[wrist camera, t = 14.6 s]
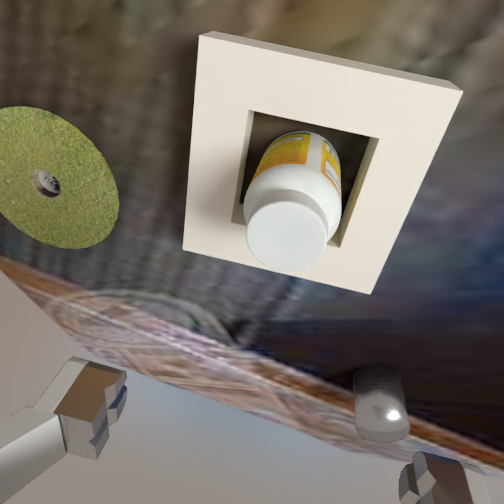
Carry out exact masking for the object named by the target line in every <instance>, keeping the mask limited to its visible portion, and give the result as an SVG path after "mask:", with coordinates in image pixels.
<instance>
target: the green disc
mask: <svg viewBox="0 0 504 504" xmlns="http://www.w3.org/2000/svg"><path fill="white" fill-rule="evenodd" d="M118 211H119V198H118V190H117V187H116V184H115V180H114V177H113V175H112V173H111V170H110V168H109V166H108V165H107V164H106V162H105V159H104V158H103V156H102V154H101V152H99V151H98V149H97V148H96V147H95V146H94V145H93V143H92V142H91V141H90V140H89V139H88V138H87V137H85V135H84V134H83V133H82V132H80V131H79V130H78V129H77V128H76V127H74V126H73V125H71V124H70V123H69V122H67V121H65V120H64V119H62V118H61V117H59V116H57V115H54V114H52V113H50V112H48V111H44V110H42V109H38V108H32V107H26V106H23V107H19V106H17V107H9V108H3V109H0V212H1V213H2V214H3V215H4V217H5V218H8V220H9V221H10V222H11V223H12V224H14V225H15V226H16V227H17V228H18V229H20V230H21V231H23V232H24V233H25V234H27V235H29V236H30V237H32V238H35V239H36V240H38V241H41V242H44V243H46V244H50V245H53V246H56V247H60V248H66V249H68V248H71V249H79V248H87V247H89V246H92V245H95V244H97V243H99V242H101V241H102V240H103V239H105V238H106V236H108V234H109V233H110V232H111V231H112V229H113V227H114V224H115V222H116V220H117V216H118Z"/></svg>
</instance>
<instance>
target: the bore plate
mask: <svg viewBox="0 0 504 504" xmlns="http://www.w3.org/2000/svg"><path fill="white" fill-rule="evenodd" d="M462 94H463V91H462V90H461V89H459V88H458V87H456V86H455V85H454V84H452V83H451V82H450V81H447V80H442V79H437V78H433V77H428V76H423V75H419V74H414V73H409V72H405V71H400V70H395V69H390V68H386V67H381V66H376V65H372V64H367V63H362V62H357V61H353V60H348V59H343V58H339V57H334V56H329V55H325V54H320V53H315V52H310V51H306V50H301V49H296V48H292V47H287V46H282V45H278V44H273V43H268V42H263V41H259V40H254V39H249V38H245V37H240V36H235V35H230V34H226V33H221V32H216V31H211V32H208V33H205V34H202V35H199V46H198V59H197V71H196V84H195V97H194V110H193V123H192V136H191V149H190V161H189V174H188V187H187V200H186V213H185V226H184V238H183V250H187V251H191V252H195V253H199V254H203V255H208V256H212V257H216V258H220V259H224V260H228V261H233V262H237V263H241V264H245V265H249V266H253V267H258V268H262V269H266V270H270V271H274V272H279V273H283V274H287V275H291V276H295V277H299V278H304V279H308V280H312V281H316V282H320V283H324V284H329V285H333V286H337V287H341V288H345V289H350V290H354V291H358V292H362V293H366V294H371V292H372V290H373V288H374V285H375V283H376V281H377V279H378V277H379V274H380V272H381V270H382V268H383V266H384V264H385V261H386V259H387V257H388V255H389V253H390V250H391V248H392V246H393V244H394V242H395V240H396V237H397V235H398V233H399V231H400V229H401V227H402V224H403V222H404V220H405V218H406V216H407V213H408V211H409V209H410V207H411V205H412V203H413V200H414V198H415V196H416V194H417V192H418V189H419V187H420V185H421V183H422V181H423V179H424V176H425V174H426V172H427V170H428V168H429V165H430V163H431V161H432V159H433V157H434V155H435V152H436V150H437V148H438V146H439V144H440V141H441V139H442V137H443V135H444V133H445V131H446V128H447V126H448V124H449V122H450V120H451V118H452V115H453V113H454V111H455V109H456V107H457V104H458V102H459V100H460V98H461V96H462ZM255 111H257V112H261V113H266V114H270V115H275V116H279V117H284V118H288V119H293V120H297V121H302V122H306V123H311V124H315V125H320V126H324V127H329V128H333V129H338V130H343V131H347V132H352V133H356V134H361V135H365V136H370V139H369V142H368V144H367V147H366V150H365V153H364V156H363V159H362V162H361V165H360V167H359V170H358V173H357V176H356V179H355V182H354V185H353V187H352V190H351V193H350V196H349V199H348V202H347V205H346V208H345V210H344V213H343V216H342V219H341V222H340V225H339V226H338V228H337V230H336V232H335V233H334V235H333V236H332V237H331V239H330V240H329V241H328V242H327V245H326V248H325V250H324V252H323V254H322V256H321V257H320V258H319V259H318V260H317V261H316V262H315V263H314V264H313V265H311V266H309V267H307V268H305V269H303V270H299V271H292V272H283V271H278V270H274V269H271V268H269V267H267V266H265V265H263V264H262V263H260V262H259V261H258V260H257V259H256V258H255V257H254V256H253V254H252V253H251V251H250V250H249V248H248V245H247V241H246V227H247V225H246V222H245V218H244V212H243V206H244V204H241V203H239V201H240V195H241V189H242V183H243V177H244V171H245V165H246V159H247V153H248V147H249V141H250V135H251V129H252V124H253V118H254V112H255Z"/></svg>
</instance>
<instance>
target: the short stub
mask: <svg viewBox="0 0 504 504" xmlns="http://www.w3.org/2000/svg"><path fill="white" fill-rule="evenodd" d="M353 393H354V410H355V427H356V430H357V432H358V433H359V434H360V435H361V436H362V437H364V438H366V439H368V440H370V441H374V442H380V443H390V442H396V441H399V440H401V439H403V438H405V437H406V436H407V435H408V433H409V431H410V426H409V420H408V415H407V409H406V404H405V399H404V393H403V388H402V382H401V377H400V375H399V373H398V372H397V371H396V370H395V369H393V368H391V367H389V366H386V365H382V364H369V365H365V366H363V367H361V368H359V369H358V370H356V372H355V373H354V375H353Z"/></svg>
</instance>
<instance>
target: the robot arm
mask: <svg viewBox="0 0 504 504" xmlns="http://www.w3.org/2000/svg"><path fill="white" fill-rule="evenodd" d="M126 379H127V376H126V371H124V370H120V369H117V368H113V367H109V366H106V365H102V364H99V363H94V362H92V361H89V360H85V359H81V358H77V357H74V356H73V357H72V358H71V359H69V360H68V361H67V362H66V363H65V365H64V366H63V368H62V369H61V370H60V371H59V373H58V374H57V375H56V377H55V378H54V379H53V381H52V382H51V383H50V385H49V386H48V387H47V389H46V390H45V392H44V393H43V394H42V396H41V397H40V398H39V400H38V401H37V402H36V404H35V405H34V406H33V407H29V406H27V407H25V408H23V409H21V410H20V411H18V412H16V413H14V414H12V415H11V416H9V417H7V418H5V419H3V420H1V421H0V504H3V503H4V502H6V501H7V500H8V499H9V498H11V497H12V496H13V495H15V494H16V493H17V492H18V491H20V490H21V489H22V488H23V487H25V486H26V485H28V484H29V483H30V482H31V481H32V480H34V479H35V478H37V476H39V475H40V474H42V473H43V472H44V471H46V470H47V469H48V468H49V467H51V466H52V465H53V464H55V463H56V462H57V461H59V460H60V459H61V458H62V457H64V456H65V455H66V453H70V454H74V455H78V456H82V457H86V458H90V459H94V460H97V459H98V457H99V455H100V453H101V451H102V449H103V447H104V445H105V444H106V442H107V440H108V438H109V426H111V425H112V424H114V423H115V422H117V421H118V419H119V417H120V415H121V413H122V410H123V407H124V405H125V402H126V396H127V388H126V386H125V385H124V383H125V381H126ZM413 462H414V463H411V464H408V465H406V466H405V467H404V468H403V470H402V471H401V474H400V479H399V498H400V502H401V504H492V500H491V497H490V494H489V491H488V488H487V484H486V481H485V478H484V475H483V472H482V471H481V469H480V468H479V467H477V466H475V465H471V464H467V463H463V462H460V461H457V460H454V459H450V458H446V457H442V456H438V455H434V454H430V453H426V452H422V451H419V452H416V453H415V455H414V456H413Z"/></svg>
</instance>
